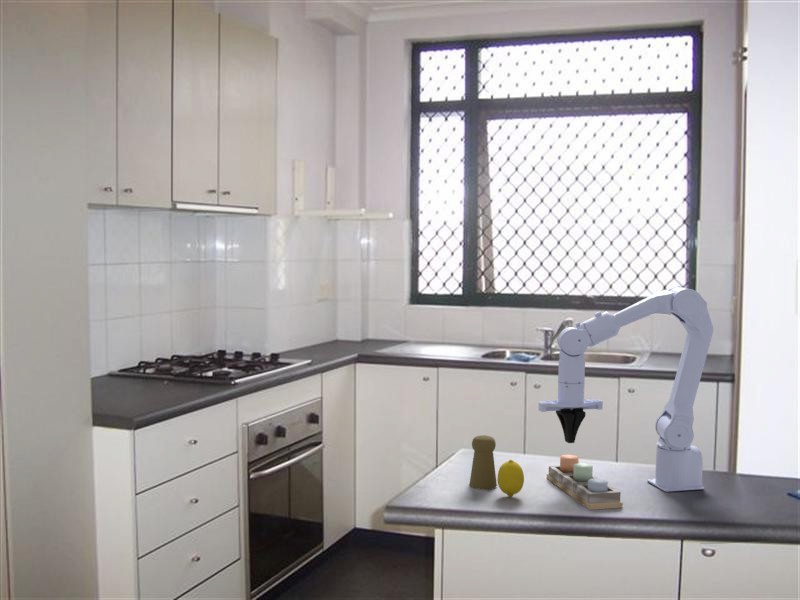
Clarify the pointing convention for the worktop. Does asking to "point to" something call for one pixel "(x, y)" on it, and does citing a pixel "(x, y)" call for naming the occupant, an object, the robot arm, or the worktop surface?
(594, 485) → the button slate
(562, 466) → the button terracotta
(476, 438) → the pepper mill
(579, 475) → the button sage
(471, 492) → the worktop surface
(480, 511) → the worktop surface
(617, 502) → the panel
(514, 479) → the lemon
